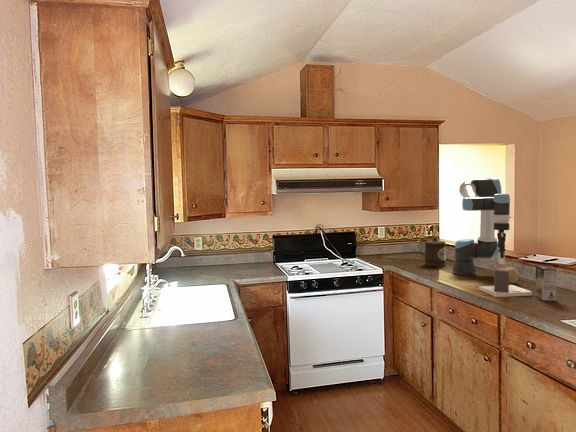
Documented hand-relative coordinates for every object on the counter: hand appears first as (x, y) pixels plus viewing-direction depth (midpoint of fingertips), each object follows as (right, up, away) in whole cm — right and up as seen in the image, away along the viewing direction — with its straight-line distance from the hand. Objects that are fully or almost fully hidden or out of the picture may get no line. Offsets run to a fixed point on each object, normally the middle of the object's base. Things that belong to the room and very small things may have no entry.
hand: (501, 261), depth 215 cm
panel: (+4, -18, +4) cm, 18 cm away
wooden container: (-3, -13, +90) cm, 91 cm away
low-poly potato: (+17, -16, +25) cm, 34 cm away
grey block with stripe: (0, -16, +1) cm, 16 cm away
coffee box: (+18, -18, -9) cm, 27 cm away
